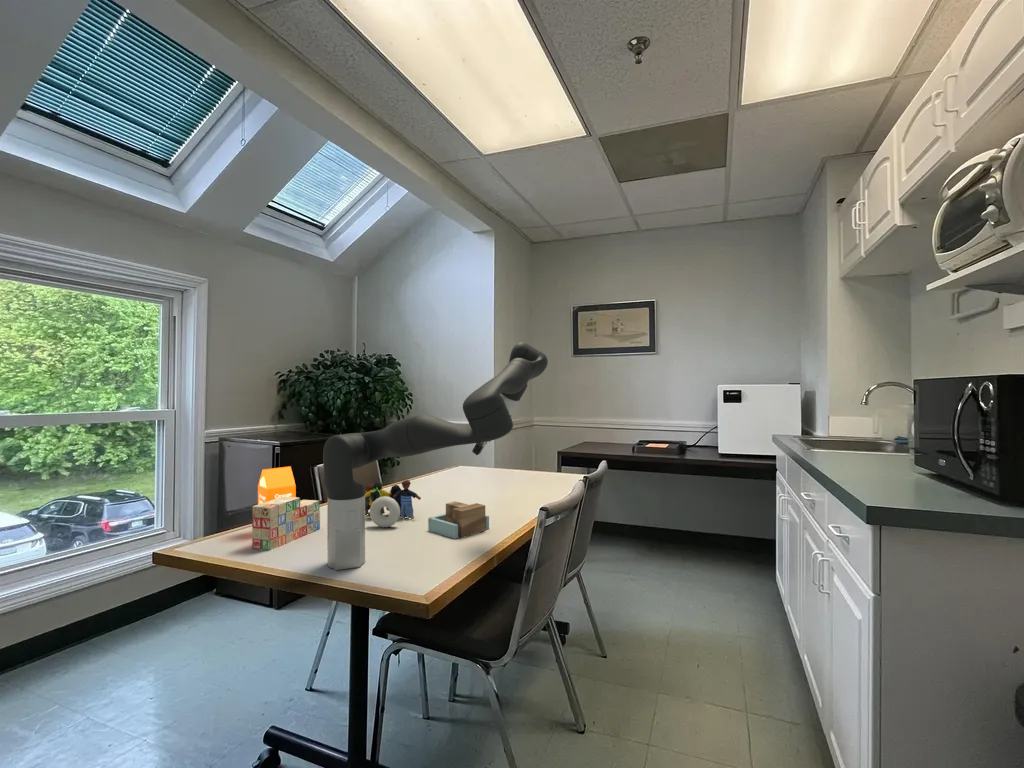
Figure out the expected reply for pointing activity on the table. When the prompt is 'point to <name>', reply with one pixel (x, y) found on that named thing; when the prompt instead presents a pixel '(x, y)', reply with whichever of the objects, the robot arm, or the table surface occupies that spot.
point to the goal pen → (447, 526)
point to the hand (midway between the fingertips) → (475, 452)
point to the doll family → (396, 493)
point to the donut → (393, 510)
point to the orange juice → (276, 484)
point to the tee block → (466, 517)
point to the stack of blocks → (283, 521)
